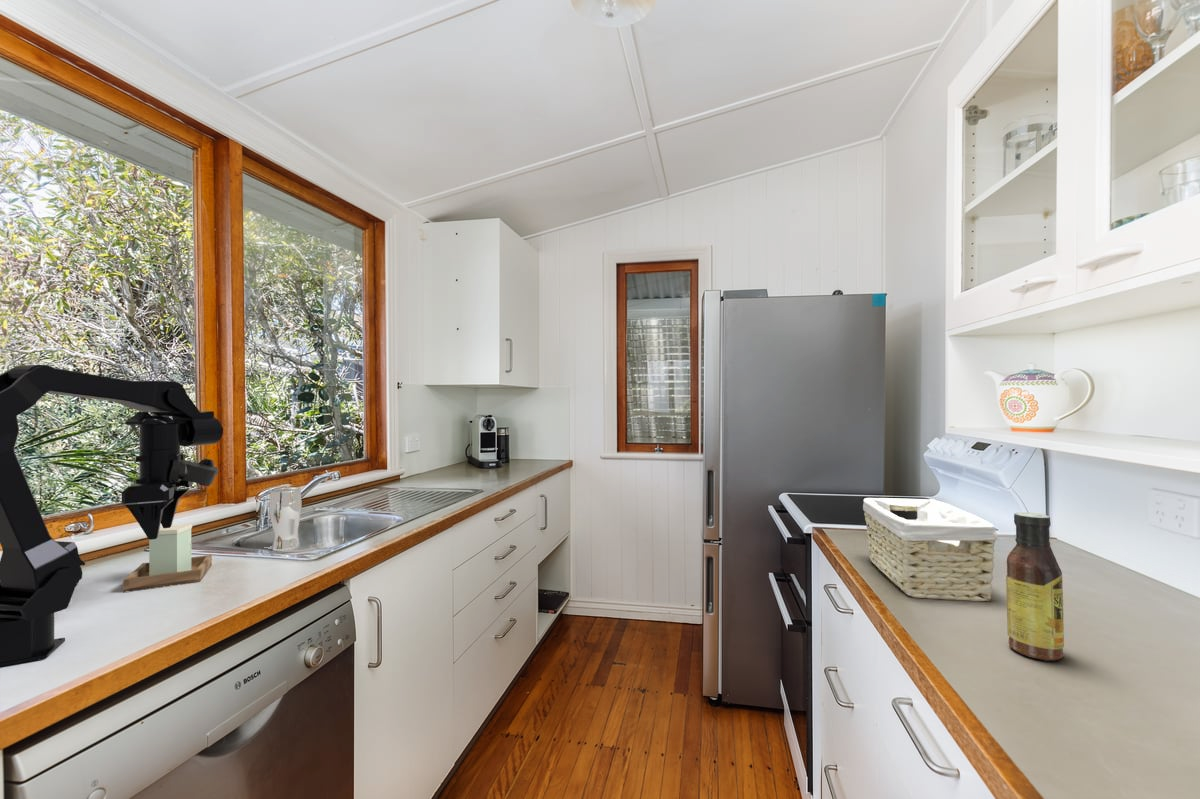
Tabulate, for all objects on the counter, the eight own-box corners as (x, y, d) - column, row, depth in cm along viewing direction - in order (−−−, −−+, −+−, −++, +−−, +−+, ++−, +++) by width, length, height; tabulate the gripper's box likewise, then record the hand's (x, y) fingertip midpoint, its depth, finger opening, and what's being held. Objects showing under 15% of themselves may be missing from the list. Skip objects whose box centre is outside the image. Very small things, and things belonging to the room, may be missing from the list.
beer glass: (286, 552, 125) (286, 491, 125) (262, 551, 126) (262, 491, 126) (308, 544, 132) (307, 487, 132) (285, 543, 133) (285, 486, 133)
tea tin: (177, 578, 105) (177, 529, 105) (148, 580, 104) (148, 531, 104) (192, 570, 110) (192, 523, 110) (164, 571, 109) (164, 525, 109)
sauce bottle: (1069, 667, 69) (1067, 522, 69) (1010, 656, 72) (1009, 516, 72) (1057, 647, 74) (1056, 513, 74) (1004, 637, 78) (1002, 508, 78)
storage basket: (1003, 607, 89) (1002, 523, 89) (903, 601, 92) (902, 520, 92) (938, 564, 113) (938, 498, 113) (860, 560, 116) (860, 496, 116)
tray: (200, 581, 105) (200, 570, 105) (123, 592, 99) (123, 580, 99) (211, 565, 115) (211, 554, 115) (142, 574, 109) (142, 563, 109)
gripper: (204, 450, 89) (204, 539, 89) (222, 443, 105) (223, 518, 105) (120, 454, 84) (120, 548, 83) (153, 446, 100) (153, 524, 100)
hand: (160, 533), depth 93 cm, fingers open, 9 cm apart
